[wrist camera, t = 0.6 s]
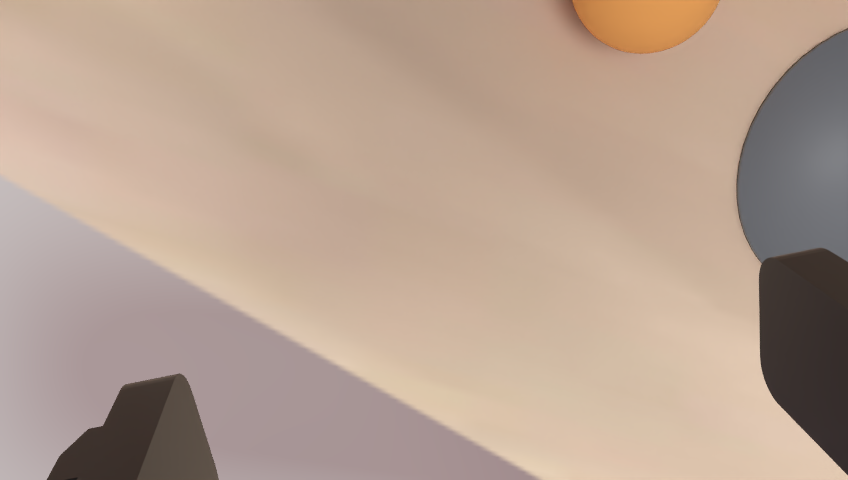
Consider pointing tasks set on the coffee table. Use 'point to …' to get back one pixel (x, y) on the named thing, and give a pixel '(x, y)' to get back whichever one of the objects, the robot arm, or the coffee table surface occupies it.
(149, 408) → the robot arm
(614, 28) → the ball
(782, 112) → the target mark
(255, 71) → the coffee table surface
